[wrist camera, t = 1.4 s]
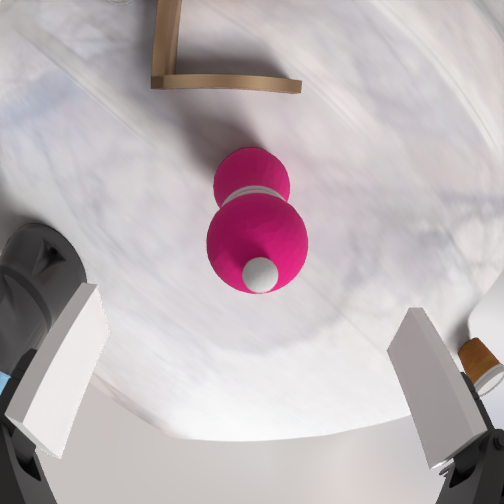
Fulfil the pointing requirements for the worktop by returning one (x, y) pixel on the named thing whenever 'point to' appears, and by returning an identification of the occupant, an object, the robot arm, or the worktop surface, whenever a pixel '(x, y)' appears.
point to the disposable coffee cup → (481, 366)
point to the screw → (119, 2)
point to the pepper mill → (255, 224)
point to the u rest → (167, 79)
